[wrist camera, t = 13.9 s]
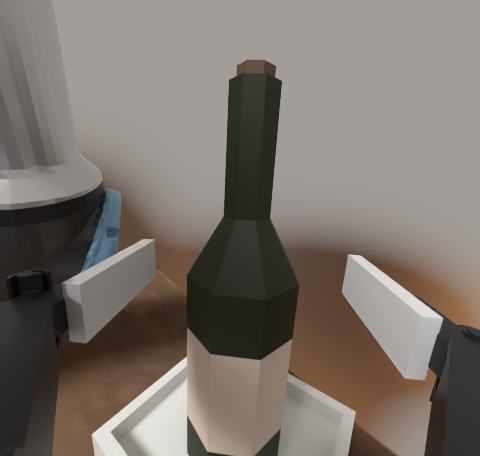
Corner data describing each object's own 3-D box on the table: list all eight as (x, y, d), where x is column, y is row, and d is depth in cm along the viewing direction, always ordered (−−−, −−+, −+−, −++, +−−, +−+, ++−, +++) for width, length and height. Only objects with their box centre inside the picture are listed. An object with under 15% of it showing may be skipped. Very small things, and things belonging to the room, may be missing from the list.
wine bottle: (256, 534, 15) (314, 0, 8) (166, 458, 19) (154, 47, 12) (289, 419, 22) (335, 86, 15) (219, 381, 26) (231, 98, 19)
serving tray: (94, 456, 19) (91, 434, 19) (216, 347, 32) (216, 332, 32) (289, 771, 9) (296, 744, 9) (351, 431, 22) (355, 411, 22)
